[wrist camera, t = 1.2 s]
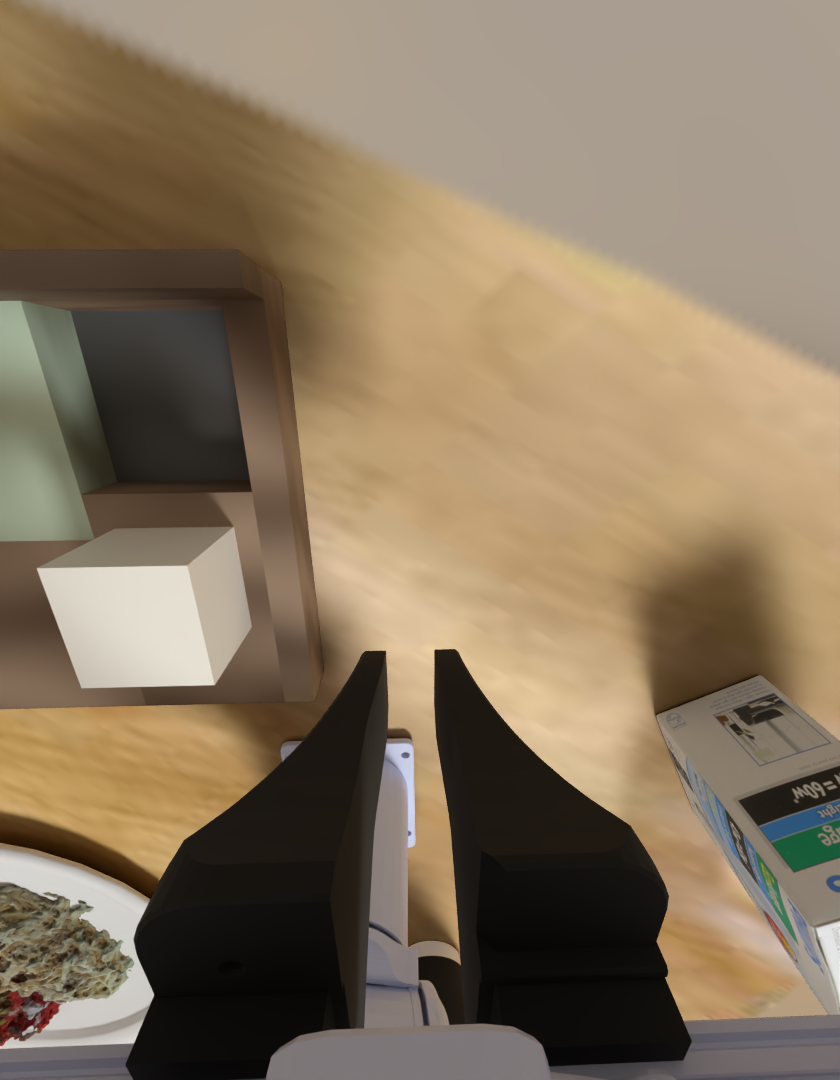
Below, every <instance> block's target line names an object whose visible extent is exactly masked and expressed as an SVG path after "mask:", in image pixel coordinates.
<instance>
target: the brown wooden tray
mask: <svg viewBox="0 0 840 1080" xmlns="http://www.w3.org/2000/svg"><path fill="white" fill-rule="evenodd" d="M182 527H234V530H235V536H236V541H237V547H238V553H239V558H240V564H241V569H242V575H243V581H244V586H245V592H246V597H247V603H248V608H249V614H250V620H251V625H252V627H251V629H250V631H249V632H248V634H247V635H246V637H245V638H244V640H243V642H242V643H241V645H240V646H239V648H238V649H237V651H236V653H235V654H234V656H233V657H232V659H231V660H230V662H229V664H228V665H227V667H226V668H225V670H224V671H223V673H222V675H221V676H220V678H219V679H218V681H217V682H216V684H215V685H200V686H157V687H115V688H81V686H80V683H79V680H78V678H77V675H76V672H75V670H74V667H73V664H72V662H71V659H70V656H69V654H68V651H67V648H66V646H65V643H64V640H63V638H62V635H61V632H60V630H59V627H58V624H57V622H56V619H55V616H54V613H53V611H52V608H51V605H50V603H49V600H48V597H47V595H46V592H45V589H44V587H43V584H42V581H41V579H40V576H39V573H38V571H37V568H38V567H40V566H42V565H44V564H46V563H48V562H50V561H52V560H54V559H56V558H58V557H60V556H62V555H64V554H66V553H68V552H70V551H72V550H74V549H76V548H78V547H80V546H82V545H84V544H86V543H88V542H90V541H92V540H94V539H96V538H98V537H100V536H102V535H104V534H105V533H107V532H109V531H111V530H113V529H119V528H182ZM323 671H324V665H323V656H322V647H321V638H320V629H319V620H318V611H317V602H316V593H315V584H314V575H313V566H312V557H311V548H310V539H309V530H308V521H307V512H306V504H305V495H304V486H303V477H302V468H301V459H300V450H299V441H298V432H297V423H296V414H295V405H294V396H293V387H292V378H291V369H290V360H289V351H288V342H287V333H286V324H285V315H284V306H283V297H282V288H281V282H280V281H278V280H277V279H276V278H274V277H273V276H272V275H270V274H269V273H268V272H266V271H265V270H264V269H263V268H261V267H260V266H259V265H257V264H256V263H255V262H253V261H252V260H251V259H249V258H248V257H247V256H246V255H244V254H243V253H242V252H240V251H239V250H0V709H29V708H70V707H111V706H151V705H192V704H233V703H273V702H314V701H315V699H316V695H317V692H318V688H319V685H320V682H321V678H322V675H323Z"/></svg>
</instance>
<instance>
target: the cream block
mask: <svg viewBox="0 0 840 1080" xmlns="http://www.w3.org/2000/svg"><path fill="white" fill-rule="evenodd" d="M37 571H38V573H39V576H40V579H41V581H42V584H43V587H44V589H45V592H46V595H47V597H48V600H49V603H50V605H51V608H52V611H53V613H54V616H55V619H56V622H57V624H58V627H59V630H60V632H61V635H62V638H63V640H64V643H65V646H66V648H67V651H68V654H69V656H70V659H71V662H72V664H73V667H74V670H75V672H76V675H77V678H78V680H79V683H80V686H81V688H115V687H157V686H200V685H215V684H216V682H217V681H218V679H219V678H220V676H221V675H222V673H223V671H224V670H225V668H226V667H227V665H228V664H229V662H230V660H231V659H232V657H233V656H234V654H235V653H236V651H237V649H238V648H239V646H240V645H241V643H242V642H243V640H244V638H245V637H246V635H247V634H248V632H249V631H250V629H251V627H252V625H251V620H250V614H249V608H248V603H247V597H246V592H245V586H244V581H243V575H242V569H241V564H240V558H239V553H238V547H237V541H236V536H235V530H234V527H182V528H119V529H113V530H111V531H109V532H107V533H105V534H104V535H102V536H100V537H98V538H96V539H94V540H92V541H90V542H88V543H86V544H84V545H82V546H80V547H78V548H76V549H74V550H72V551H70V552H68V553H66V554H64V555H62V556H60V557H58V558H56V559H54V560H52V561H50V562H48V563H46V564H44V565H42V566H40V567H38V568H37Z"/></svg>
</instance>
